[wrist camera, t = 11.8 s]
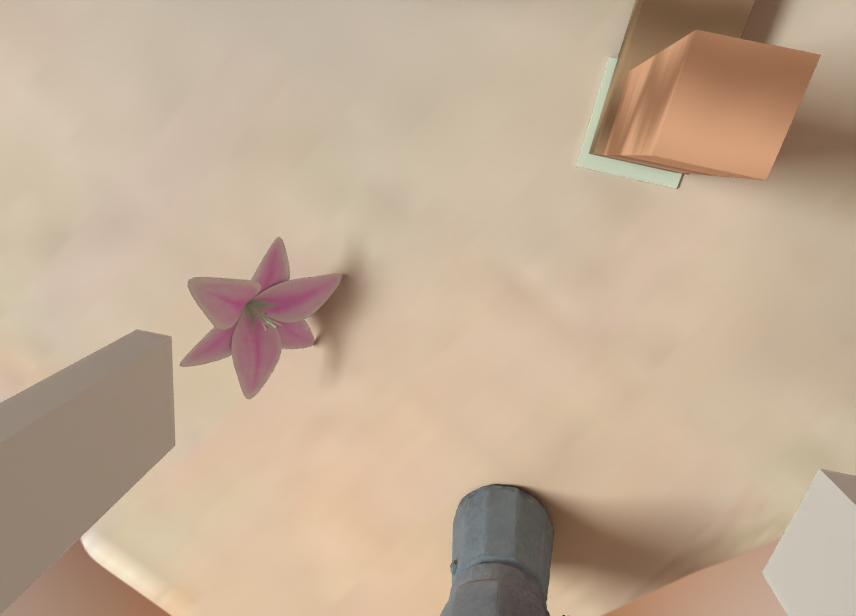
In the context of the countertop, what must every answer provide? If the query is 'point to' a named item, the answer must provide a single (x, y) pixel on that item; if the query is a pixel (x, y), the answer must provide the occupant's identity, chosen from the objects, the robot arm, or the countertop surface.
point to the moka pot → (500, 555)
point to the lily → (257, 317)
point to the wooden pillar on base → (700, 91)
